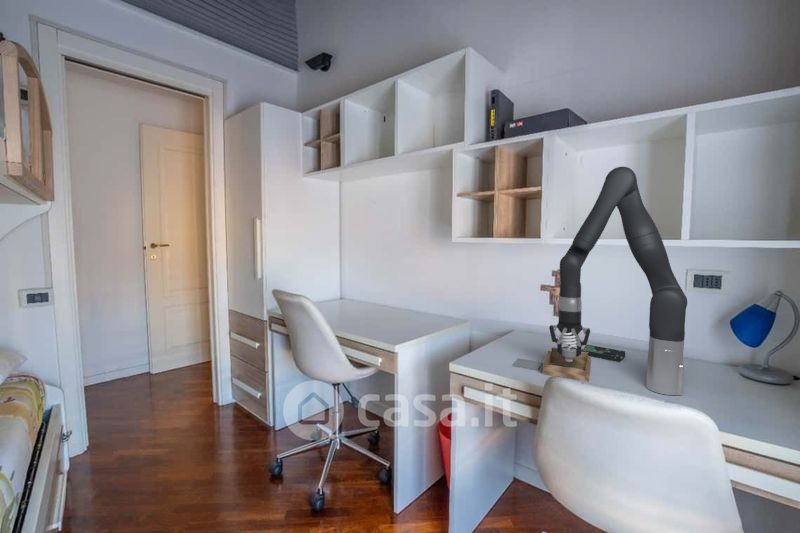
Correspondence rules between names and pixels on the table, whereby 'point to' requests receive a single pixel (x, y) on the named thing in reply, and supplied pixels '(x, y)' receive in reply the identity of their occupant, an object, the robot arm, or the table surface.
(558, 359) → the wooden frame
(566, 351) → the light bulb
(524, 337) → the table surface
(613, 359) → the disk drive
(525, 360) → the slate mat
